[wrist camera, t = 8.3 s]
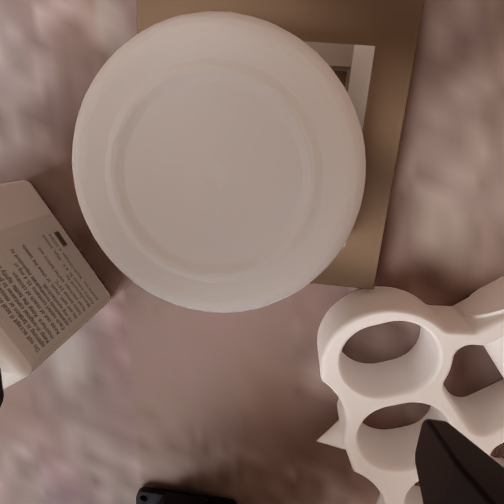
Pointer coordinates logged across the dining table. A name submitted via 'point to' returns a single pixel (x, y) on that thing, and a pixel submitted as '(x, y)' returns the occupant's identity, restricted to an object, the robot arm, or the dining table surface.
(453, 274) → the dining table surface
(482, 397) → the white compartment tray
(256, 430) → the dining table surface
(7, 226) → the container
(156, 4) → the brown flat square frame
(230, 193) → the sprinkles bottle
